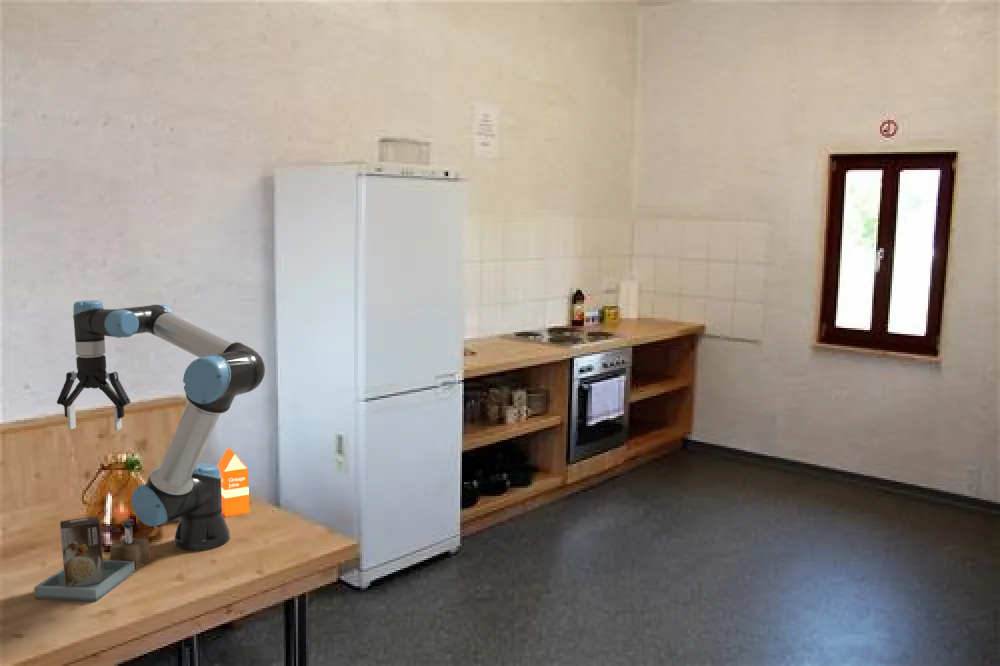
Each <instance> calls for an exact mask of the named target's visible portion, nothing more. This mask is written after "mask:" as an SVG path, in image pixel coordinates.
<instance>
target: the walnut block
mask: <svg viewBox="0 0 1000 666" xmlns="http://www.w3.org/2000/svg"><path fill="white" fill-rule="evenodd" d="M149 545H150V544H149V538H140V537H139V538H137V537H133V544H132V545H126V538H125V537H123V538H121V539H120V540H118V541H117V542H116V543H114V544H112V545H111V546H110V547H109V549H110V550H109V551H110V560H116V561H134V564H135V569H136V570H138V569H139V568H140V567H142V566H143V565H144V564H146V563H147V562H148V561H150V548H149V547H150V546H149ZM147 560H148V561H147ZM146 561H147V562H146ZM145 562H146V563H145ZM142 564H143V565H142ZM141 565H142V566H141ZM139 566H140V567H139ZM138 567H139V568H138ZM137 568H138V569H137Z"/></svg>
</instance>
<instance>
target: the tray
mask: <svg viewBox="0 0 1000 666" xmlns="http://www.w3.org/2000/svg"><path fill="white" fill-rule="evenodd" d="M103 568H104V579H105V580H104V581H103V582H102V583H97V584H92V585H86V586H81V587H66V586H65V576H64V567H63V568H61V569H60V570H58V571H57V572H55V573H53V574H52V575H50V576H49V577H48V578H46V579H44V580H43V581H42V582H40V583H38V584H37V585H36V586H34V587H33V588H34V590H33V591H34V599H35V600H51V601H52V600H53V601H55V600H56V601H58V600H59V601H75V602H76V601H77V602H78V601H79V602H98V601H99V600H100V599H102V598H103V597H105V595H107V594H108V593H109V592H112V590H113V589H114V588H115V589H116V587H117V586H118V585H120V584H122V582H124V581H125V580H126V579H128V578H129V577H130V576H132V575H133V574H134V573H135V571H136V570H135V564H134V561H116V560H111V559H103ZM133 572H134V573H133ZM132 573H133V574H132ZM131 574H132V575H131ZM128 576H129V577H128ZM127 577H128V578H127Z"/></svg>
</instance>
